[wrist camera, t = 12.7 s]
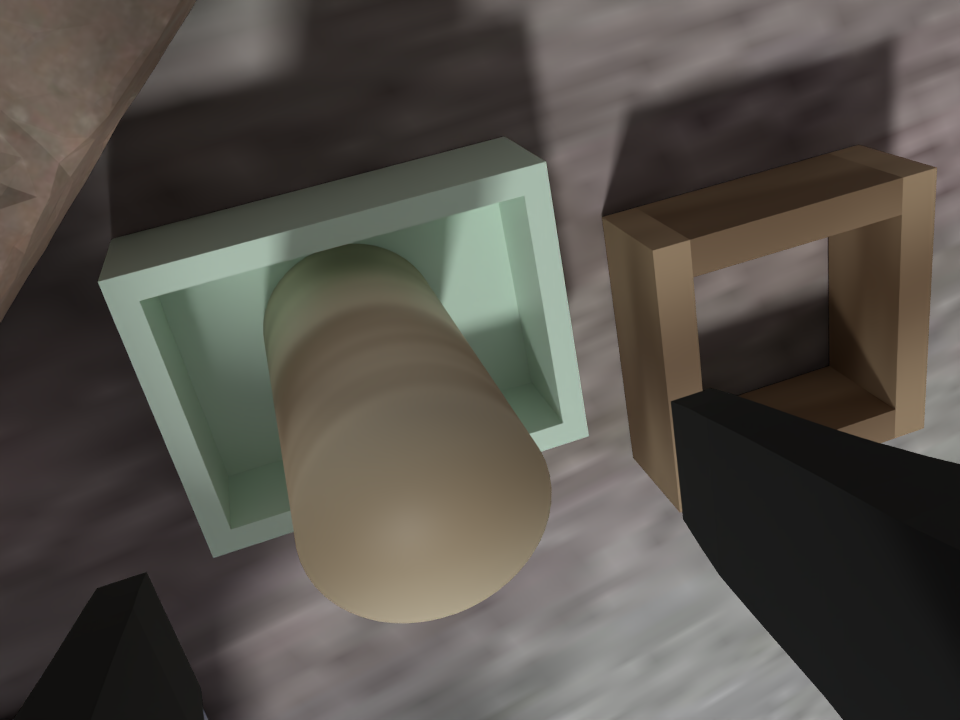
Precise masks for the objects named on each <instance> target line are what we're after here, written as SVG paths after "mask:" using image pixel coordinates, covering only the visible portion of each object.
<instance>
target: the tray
mask: <svg viewBox="0 0 960 720" xmlns="http://www.w3.org/2000/svg"><path fill="white" fill-rule="evenodd" d="M346 244H367V245H374V246H378V247H381V248H385V249H387V250H390V251H392V252H394V253H396V254H398V255H400V256H401V257H403V258H405V259H406V260H407V261H409V262H410V263H411V264H412V265H413V266H415V267H416V269H417V270H418V271H419V272H420V273H421V274H422V275H423V277H424V278H425V280H426V281H427V283H428V284H429V285H430V287H431V288H432V290H433V291H434V293H435V294H436V296H437V297H438V299H439V300H440V302H441V303H442V305H443V306H444V308H445V309H446V311H447V312H448V314H449V315H450V317H451V318H452V320H453V321H454V323H455V324H456V326H457V327H458V329H459V330H460V332H461V333H462V335H463V336H464V337H465V339H466V340H467V342H468V343H469V345H470V346H471V348H472V349H473V351H474V352H475V354H476V355H477V357H478V358H479V360H480V361H481V363H482V364H483V366H484V367H485V369H486V370H487V372H488V373H489V375H490V376H491V378H492V379H493V381H494V382H495V384H496V385H497V386H498V388H499V389H500V391H501V392H502V394H503V395H504V397H505V398H506V400H507V401H508V403H509V404H510V406H511V407H512V409H513V410H514V412H515V413H516V415H517V416H518V418H519V419H520V421H521V422H522V424H523V425H524V427H525V428H526V430H527V431H528V433H529V434H530V436H531V437H532V438H533V440H534V441H535V443H536V444H537V446H538V447H539V449H540V451H544V450H547V449H551V448H554V447H557V446H560V445H563V444H566V443H569V442H572V441H575V440H578V439H581V438H584V437H588V436H589V435H588V428H587V422H586V415H585V409H584V403H583V396H582V390H581V383H580V377H579V371H578V364H577V358H576V351H575V345H574V338H573V332H572V326H571V319H570V313H569V306H568V300H567V294H566V287H565V281H564V274H563V268H562V261H561V255H560V249H559V242H558V236H557V229H556V223H555V217H554V210H553V204H552V197H551V191H550V184H549V178H548V172H547V165H546V161H544V160H542V159H541V158H539V157H537V156H536V155H534V154H533V153H531V152H529V151H528V150H526V149H524V148H523V147H521V146H519V145H518V144H516V143H515V142H513V141H511V140H510V139H508V138H506V137H505V136H504V137H500V138H496V139H493V140H489V141H485V142H481V143H477V144H473V145H470V146H466V147H462V148H458V149H454V150H450V151H447V152H443V153H439V154H435V155H431V156H427V157H424V158H420V159H416V160H412V161H408V162H405V163H401V164H397V165H393V166H389V167H385V168H382V169H378V170H374V171H370V172H366V173H362V174H359V175H355V176H351V177H347V178H343V179H339V180H336V181H332V182H328V183H324V184H320V185H316V186H313V187H309V188H305V189H301V190H297V191H293V192H290V193H286V194H282V195H278V196H274V197H271V198H267V199H263V200H259V201H255V202H251V203H248V204H244V205H240V206H236V207H232V208H228V209H225V210H221V211H217V212H213V213H209V214H205V215H202V216H198V217H194V218H190V219H186V220H182V221H179V222H175V223H171V224H167V225H163V226H159V227H156V228H152V229H148V230H144V231H140V232H137V233H133V234H129V235H125V236H121V237H117V238H114V239H111V242H110V245H109V248H108V251H107V254H106V258H105V261H104V264H103V267H102V270H101V273H100V276H99V279H98V284H99V286H100V289H101V291H102V293H103V296H104V298H105V301H106V303H107V305H108V308H109V310H110V312H111V315H112V317H113V320H114V322H115V324H116V327H117V329H118V332H119V334H120V336H121V339H122V341H123V344H124V346H125V348H126V351H127V353H128V355H129V358H130V360H131V363H132V365H133V367H134V370H135V372H136V375H137V377H138V379H139V382H140V384H141V387H142V389H143V391H144V394H145V396H146V398H147V401H148V403H149V406H150V408H151V410H152V413H153V415H154V418H155V420H156V422H157V425H158V427H159V429H160V432H161V434H162V437H163V439H164V441H165V444H166V446H167V449H168V451H169V453H170V456H171V458H172V461H173V463H174V465H175V468H176V470H177V472H178V475H179V477H180V480H181V482H182V484H183V487H184V489H185V492H186V494H187V496H188V499H189V501H190V504H191V506H192V508H193V511H194V513H195V515H196V518H197V520H198V523H199V525H200V527H201V530H202V532H203V535H204V537H205V539H206V542H207V544H208V546H209V549H210V551H211V554H212V556H213V558H215V557H218V556H221V555H224V554H227V553H230V552H234V551H237V550H240V549H243V548H246V547H249V546H252V545H255V544H258V543H261V542H264V541H267V540H270V539H274V538H277V537H280V536H283V535H286V534H289V533H292V532H294V530H293V524H292V517H291V511H290V504H289V498H288V491H287V485H286V479H285V472H284V466H283V459H282V453H281V446H280V440H279V433H278V427H277V421H276V414H275V408H274V401H273V395H272V388H271V382H270V375H269V369H268V362H267V356H266V350H265V343H264V336H263V322H264V316H265V311H266V307H267V304H268V301H269V299H270V297H271V294H272V292H273V290H274V289H275V287H276V286H277V284H278V283H279V281H280V280H281V279H282V278H283V276H284V275H285V274H286V273H287V272H288V271H289V270H290V269H291V268H292V267H293V266H294V265H296V264H297V263H298V262H300V261H301V260H303V259H304V258H306V257H307V256H309V255H311V254H313V253H316V252H320V251H324V250H327V249H331V248H335V247H338V246H342V245H346Z"/></svg>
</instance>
